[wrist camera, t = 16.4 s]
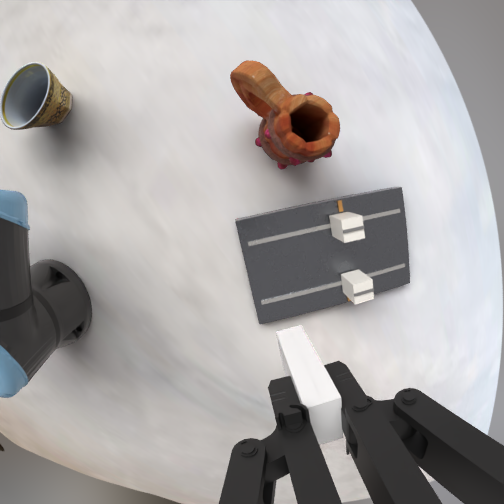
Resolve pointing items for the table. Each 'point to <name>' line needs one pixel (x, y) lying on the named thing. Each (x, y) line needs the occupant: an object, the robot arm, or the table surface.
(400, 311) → the table surface
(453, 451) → the robot arm
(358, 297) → the fader far
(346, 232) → the fader near
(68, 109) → the ceramic cup
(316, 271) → the console
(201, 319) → the table surface
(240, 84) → the mug
